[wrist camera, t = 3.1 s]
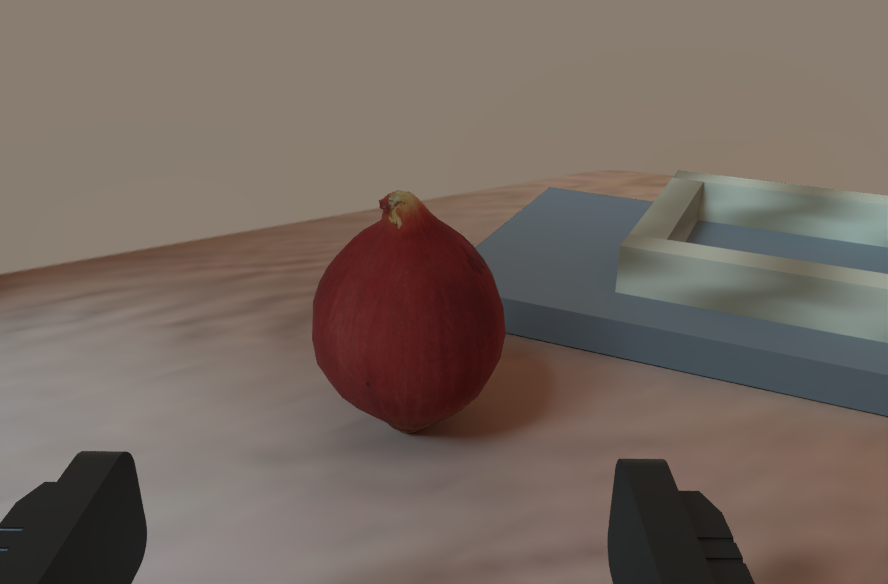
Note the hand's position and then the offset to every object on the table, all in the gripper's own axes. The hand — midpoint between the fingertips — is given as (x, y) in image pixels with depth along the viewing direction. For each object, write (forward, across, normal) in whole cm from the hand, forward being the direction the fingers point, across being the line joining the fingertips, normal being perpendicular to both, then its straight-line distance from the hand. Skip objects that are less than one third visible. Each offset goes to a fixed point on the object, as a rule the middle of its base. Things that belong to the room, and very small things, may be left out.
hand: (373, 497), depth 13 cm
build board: (+22, -13, +6) cm, 26 cm away
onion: (+11, 0, +6) cm, 13 cm away
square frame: (+21, -16, +4) cm, 27 cm away
